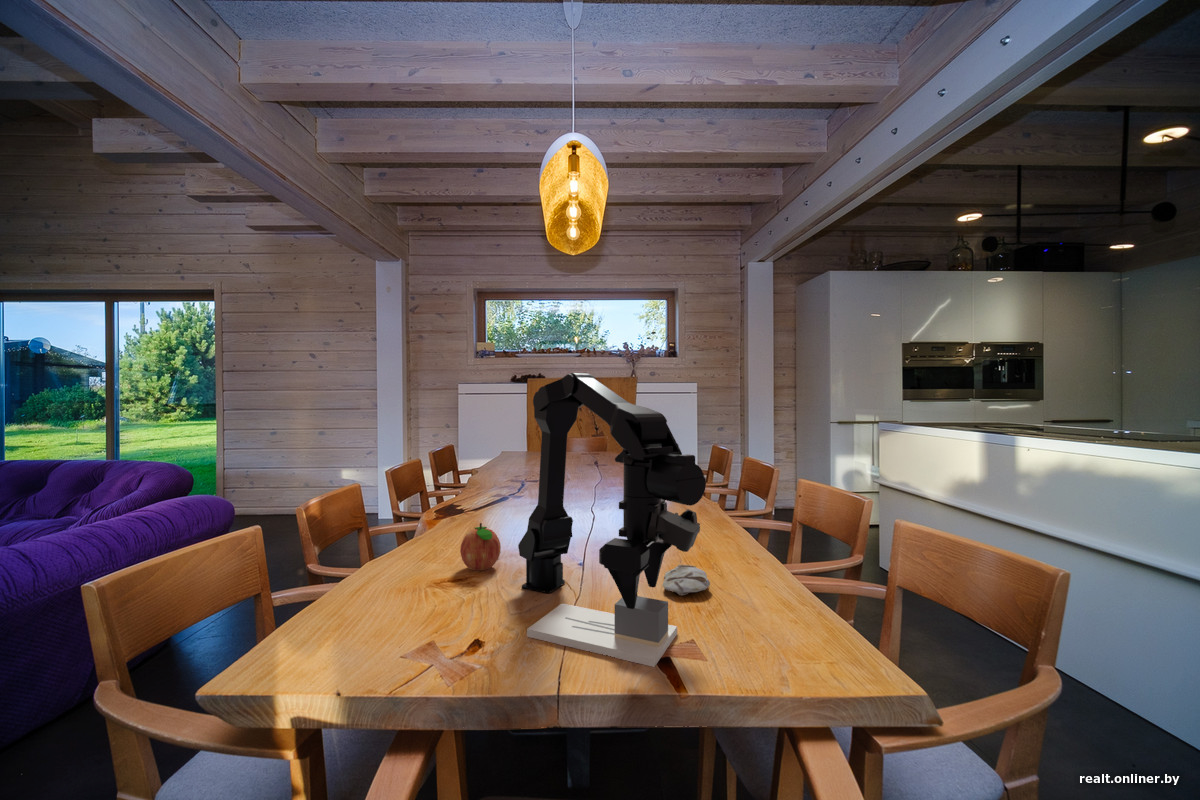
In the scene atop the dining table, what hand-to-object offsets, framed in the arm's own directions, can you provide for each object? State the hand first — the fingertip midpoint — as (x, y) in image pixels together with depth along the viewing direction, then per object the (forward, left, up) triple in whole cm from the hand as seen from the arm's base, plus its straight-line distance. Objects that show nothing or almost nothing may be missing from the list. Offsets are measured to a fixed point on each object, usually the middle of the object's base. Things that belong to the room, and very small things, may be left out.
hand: (642, 597), depth 77 cm
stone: (0, +26, -8) cm, 27 cm away
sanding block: (0, 0, -6) cm, 6 cm away
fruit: (-44, +17, -7) cm, 48 cm away
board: (-7, 0, -7) cm, 10 cm away
